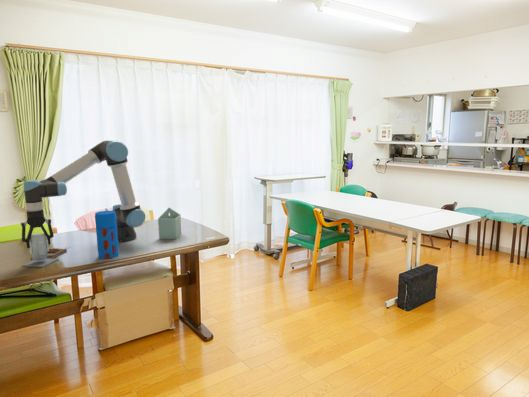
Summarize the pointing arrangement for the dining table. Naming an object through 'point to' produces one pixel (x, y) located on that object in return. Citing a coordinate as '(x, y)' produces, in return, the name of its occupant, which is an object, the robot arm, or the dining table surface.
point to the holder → (59, 252)
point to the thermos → (106, 234)
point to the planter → (169, 225)
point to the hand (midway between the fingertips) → (39, 252)
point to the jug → (39, 247)
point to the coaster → (40, 263)
